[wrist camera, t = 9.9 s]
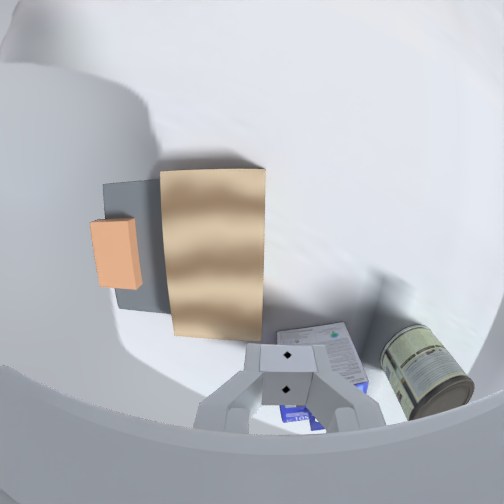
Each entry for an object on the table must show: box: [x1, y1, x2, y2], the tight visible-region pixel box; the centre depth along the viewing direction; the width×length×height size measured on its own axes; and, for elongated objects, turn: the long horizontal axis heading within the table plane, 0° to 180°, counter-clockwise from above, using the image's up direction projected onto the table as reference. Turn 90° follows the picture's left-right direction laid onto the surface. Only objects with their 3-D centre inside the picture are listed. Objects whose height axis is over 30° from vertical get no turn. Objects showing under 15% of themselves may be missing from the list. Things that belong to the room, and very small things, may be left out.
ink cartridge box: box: [276, 322, 369, 431], centre depth 30 cm, size 10×6×14 cm, turn 99°
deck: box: [160, 169, 265, 341], centre depth 31 cm, size 20×11×4 cm, turn 179°
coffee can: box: [380, 325, 474, 421], centre depth 30 cm, size 10×10×14 cm
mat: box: [103, 180, 171, 314], centre depth 34 cm, size 18×10×1 cm, turn 179°
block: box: [90, 218, 143, 290], centre depth 33 cm, size 9×6×2 cm, turn 0°
